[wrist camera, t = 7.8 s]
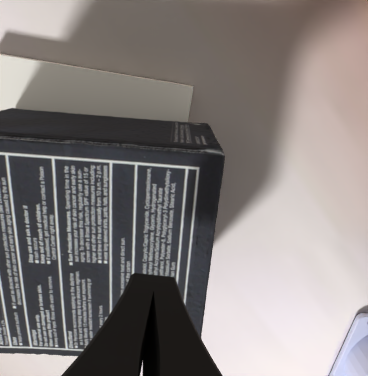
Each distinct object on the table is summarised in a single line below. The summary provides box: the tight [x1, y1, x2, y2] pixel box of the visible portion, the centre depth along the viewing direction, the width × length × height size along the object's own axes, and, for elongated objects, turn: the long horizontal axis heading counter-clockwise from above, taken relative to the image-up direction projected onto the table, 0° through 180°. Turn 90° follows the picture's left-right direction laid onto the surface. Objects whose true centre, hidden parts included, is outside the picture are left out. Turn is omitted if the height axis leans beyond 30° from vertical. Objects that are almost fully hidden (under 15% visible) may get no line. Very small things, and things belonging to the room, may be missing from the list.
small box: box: [0, 108, 225, 356], centre depth 16 cm, size 11×6×10 cm
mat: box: [0, 54, 194, 122], centre depth 19 cm, size 10×12×1 cm
